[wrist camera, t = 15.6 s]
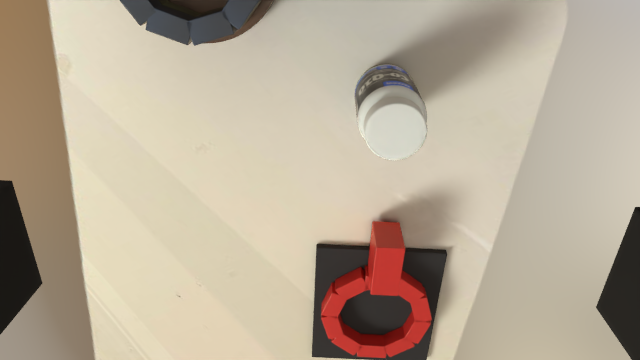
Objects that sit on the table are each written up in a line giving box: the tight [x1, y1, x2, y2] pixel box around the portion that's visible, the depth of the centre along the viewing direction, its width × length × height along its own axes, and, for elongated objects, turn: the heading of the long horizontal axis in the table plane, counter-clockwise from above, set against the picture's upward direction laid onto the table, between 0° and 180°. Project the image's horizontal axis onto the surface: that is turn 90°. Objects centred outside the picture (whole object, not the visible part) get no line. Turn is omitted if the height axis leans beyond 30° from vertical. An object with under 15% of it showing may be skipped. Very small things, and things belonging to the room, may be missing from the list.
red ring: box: [321, 221, 432, 358], centre depth 45 cm, size 15×11×4 cm
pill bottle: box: [355, 64, 427, 160], centre depth 34 cm, size 5×5×8 cm
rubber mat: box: [312, 244, 447, 360], centre depth 48 cm, size 12×14×1 cm
